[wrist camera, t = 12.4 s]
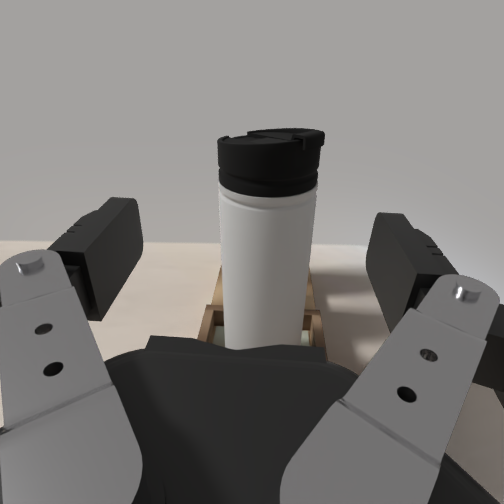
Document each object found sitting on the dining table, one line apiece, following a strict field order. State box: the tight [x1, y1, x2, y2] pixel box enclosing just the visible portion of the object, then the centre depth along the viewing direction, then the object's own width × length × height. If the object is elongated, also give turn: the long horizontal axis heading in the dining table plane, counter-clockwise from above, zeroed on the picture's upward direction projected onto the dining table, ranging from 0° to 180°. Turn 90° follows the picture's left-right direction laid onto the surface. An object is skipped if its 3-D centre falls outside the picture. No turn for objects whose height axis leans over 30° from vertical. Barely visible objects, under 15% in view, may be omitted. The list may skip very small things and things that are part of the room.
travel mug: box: [217, 128, 325, 350], centre depth 25 cm, size 6×7×20 cm
